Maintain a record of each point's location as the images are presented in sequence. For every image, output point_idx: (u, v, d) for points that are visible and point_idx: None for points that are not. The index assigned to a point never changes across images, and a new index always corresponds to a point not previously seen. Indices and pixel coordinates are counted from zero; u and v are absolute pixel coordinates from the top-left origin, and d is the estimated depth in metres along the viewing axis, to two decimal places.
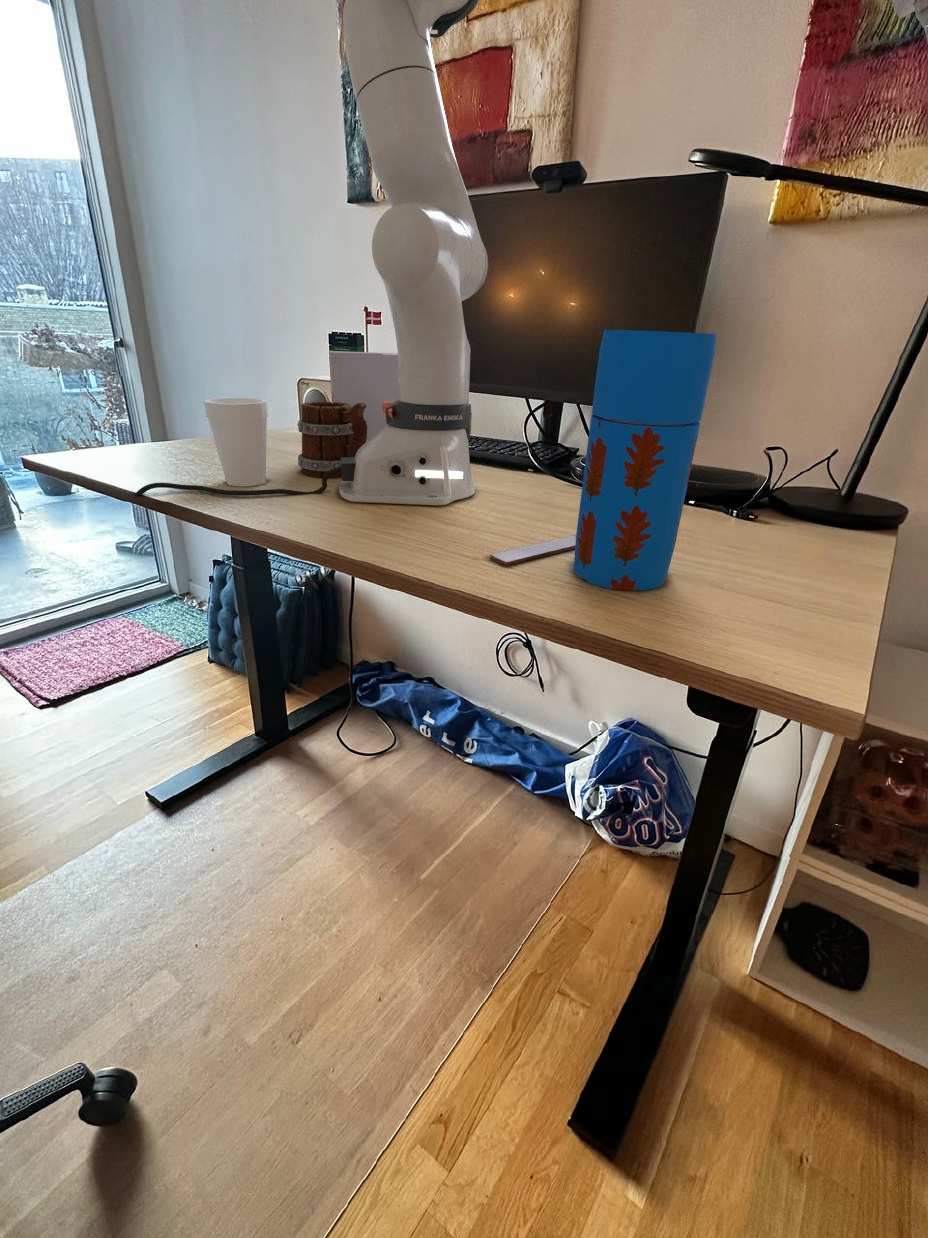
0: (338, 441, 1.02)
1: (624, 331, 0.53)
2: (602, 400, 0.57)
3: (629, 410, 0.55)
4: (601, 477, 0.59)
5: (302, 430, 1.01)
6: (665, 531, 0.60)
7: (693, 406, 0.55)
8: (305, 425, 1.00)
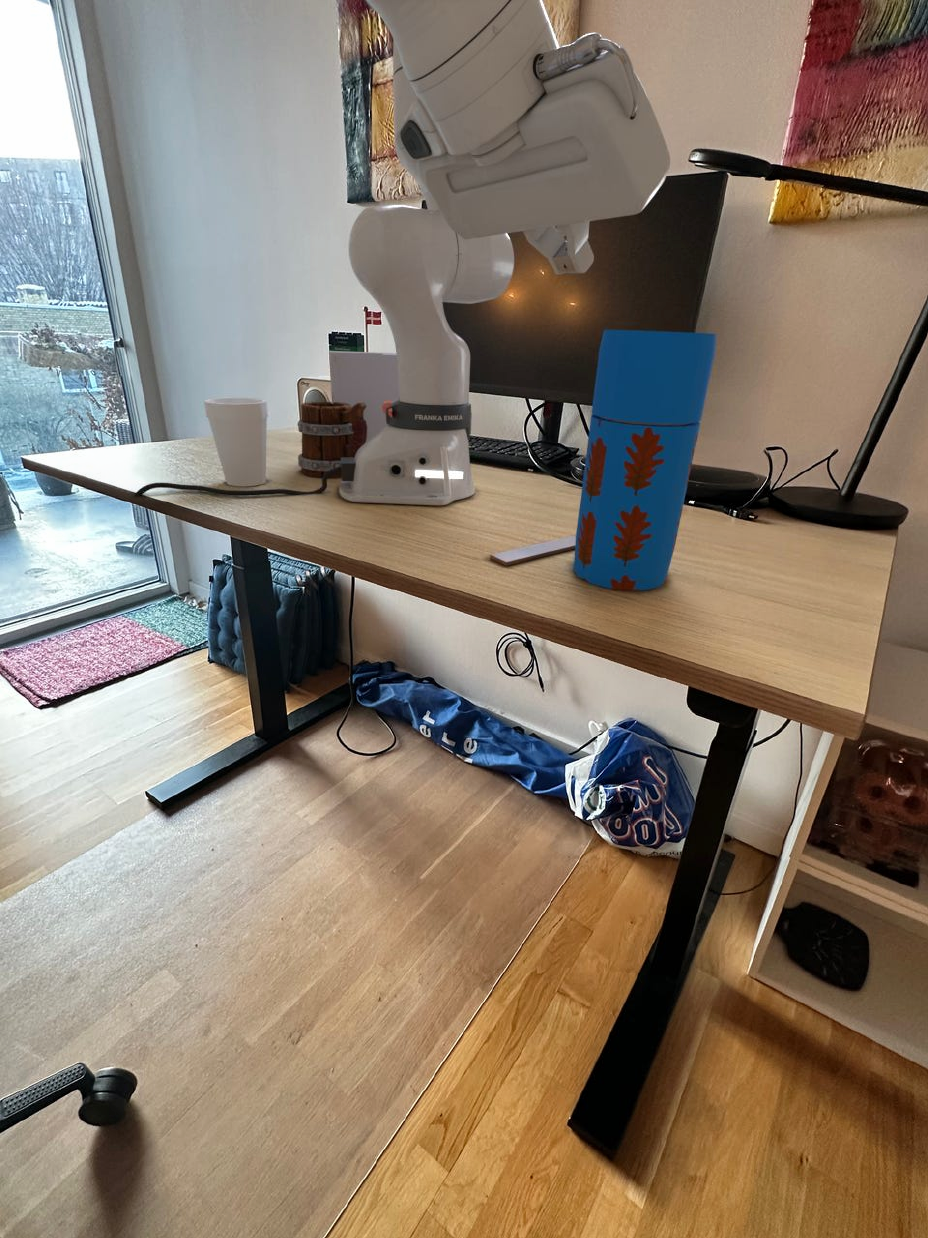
0: (338, 441, 1.02)
1: (624, 331, 0.53)
2: (602, 400, 0.57)
3: (629, 410, 0.55)
4: (601, 477, 0.59)
5: (302, 430, 1.01)
6: (665, 531, 0.60)
7: (693, 406, 0.55)
8: (305, 425, 1.00)
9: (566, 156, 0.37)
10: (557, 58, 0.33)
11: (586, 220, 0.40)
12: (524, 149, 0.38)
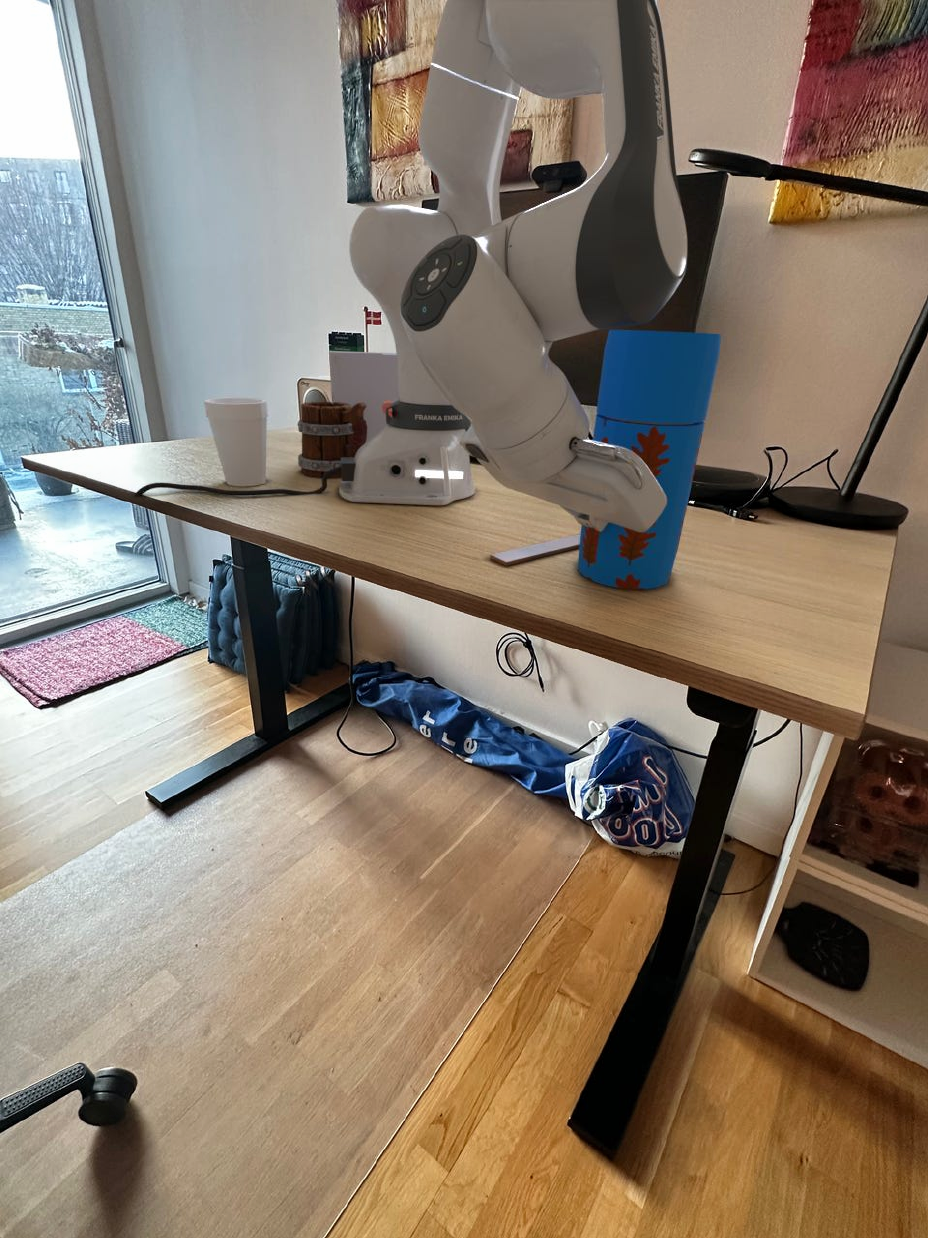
0: (338, 441, 1.02)
1: (630, 331, 0.53)
2: (608, 400, 0.57)
3: (635, 409, 0.55)
4: None
5: (302, 430, 1.01)
6: (670, 530, 0.60)
7: (698, 406, 0.55)
8: (305, 425, 1.00)
9: (592, 492, 0.51)
10: (587, 450, 0.47)
11: (605, 520, 0.54)
12: (560, 478, 0.52)
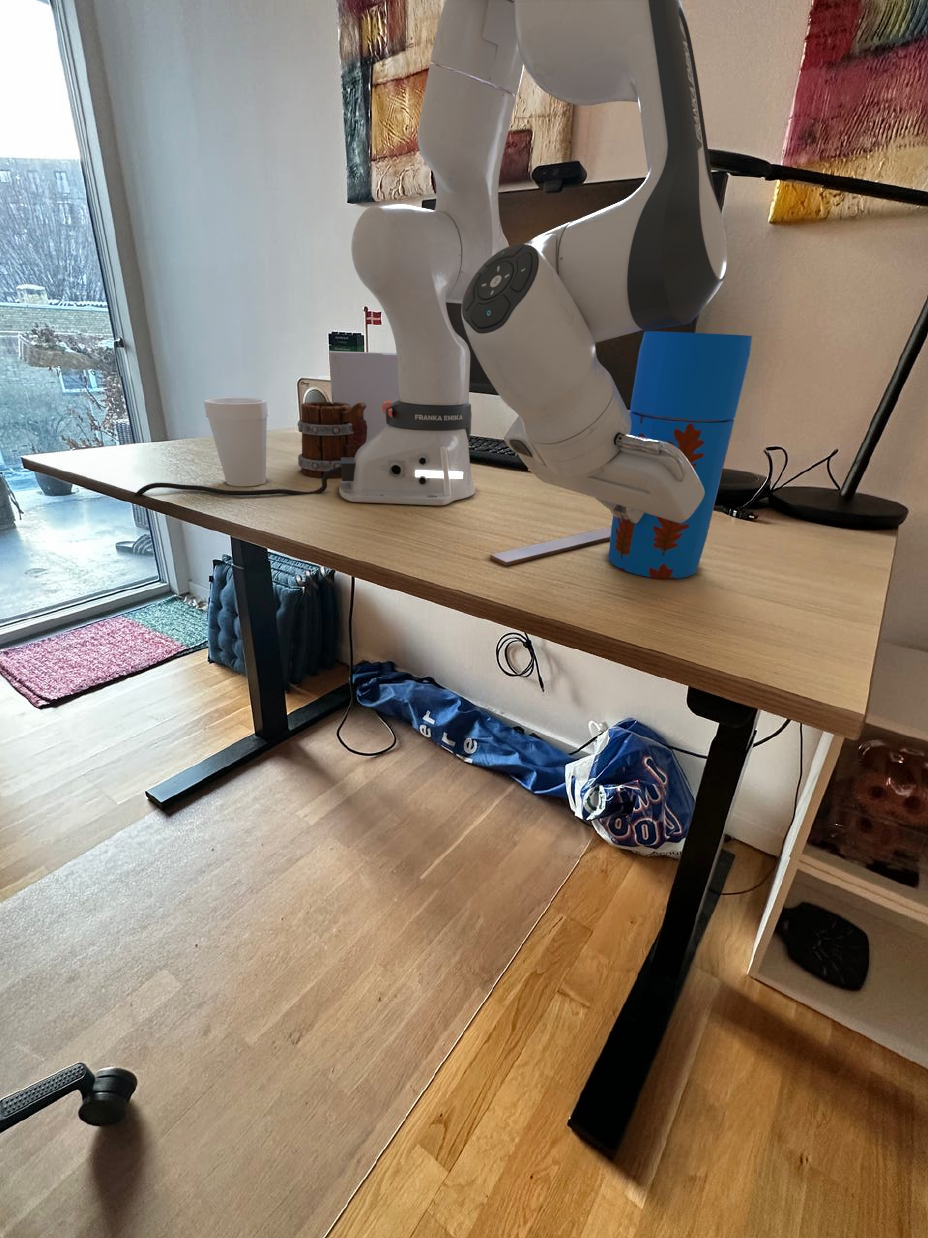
0: (338, 441, 1.02)
1: (669, 333, 0.56)
2: (644, 398, 0.60)
3: (672, 407, 0.58)
4: None
5: (302, 430, 1.01)
6: (701, 521, 0.64)
7: (731, 403, 0.59)
8: (305, 425, 1.00)
9: (633, 485, 0.54)
10: (632, 445, 0.50)
11: (643, 512, 0.57)
12: (602, 472, 0.55)
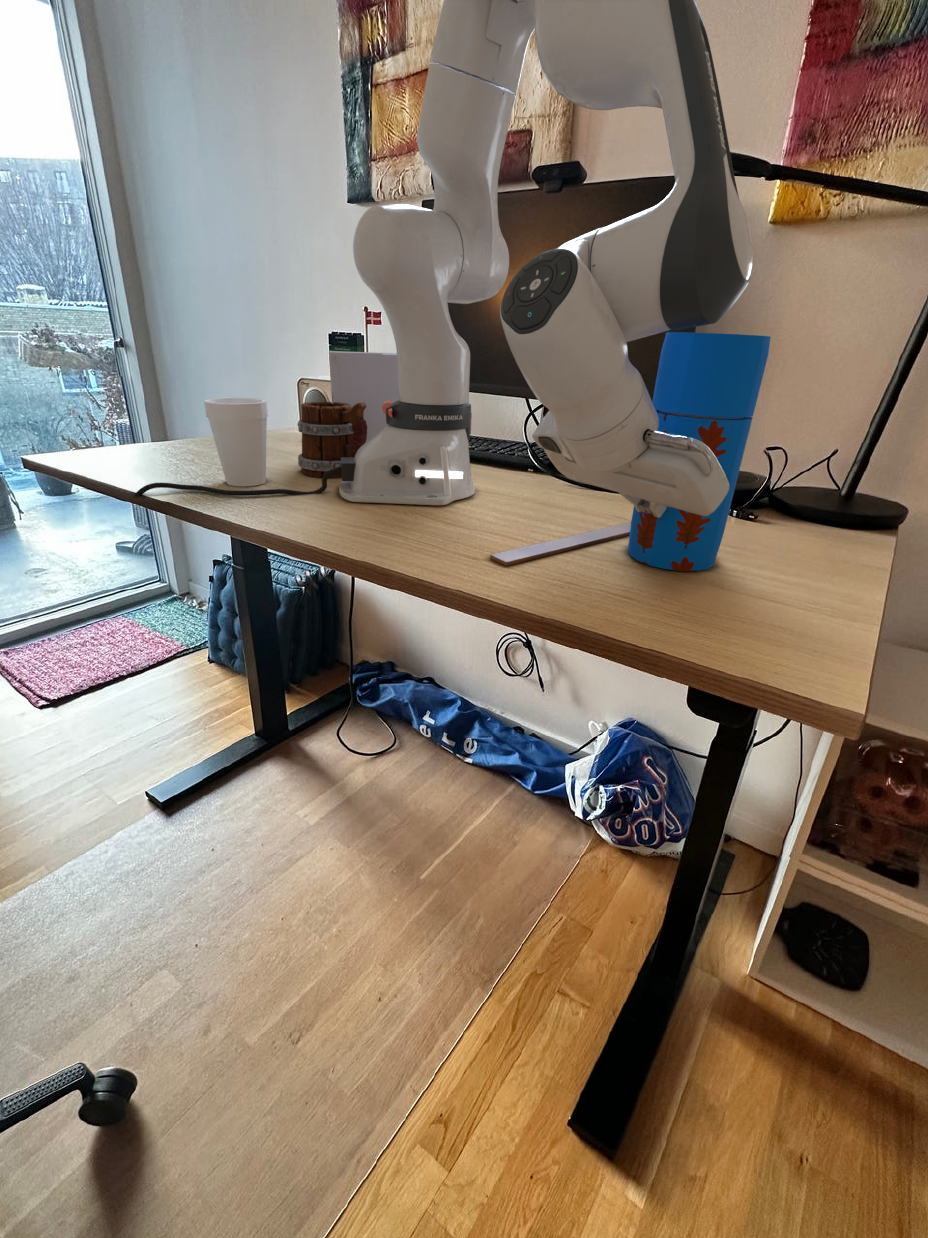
0: (338, 441, 1.02)
1: (694, 333, 0.59)
2: (668, 396, 0.62)
3: (697, 405, 0.60)
4: None
5: (302, 430, 1.01)
6: (721, 515, 0.66)
7: (752, 401, 0.61)
8: (305, 425, 1.00)
9: (660, 480, 0.56)
10: (661, 441, 0.52)
11: (669, 506, 0.59)
12: (629, 467, 0.57)
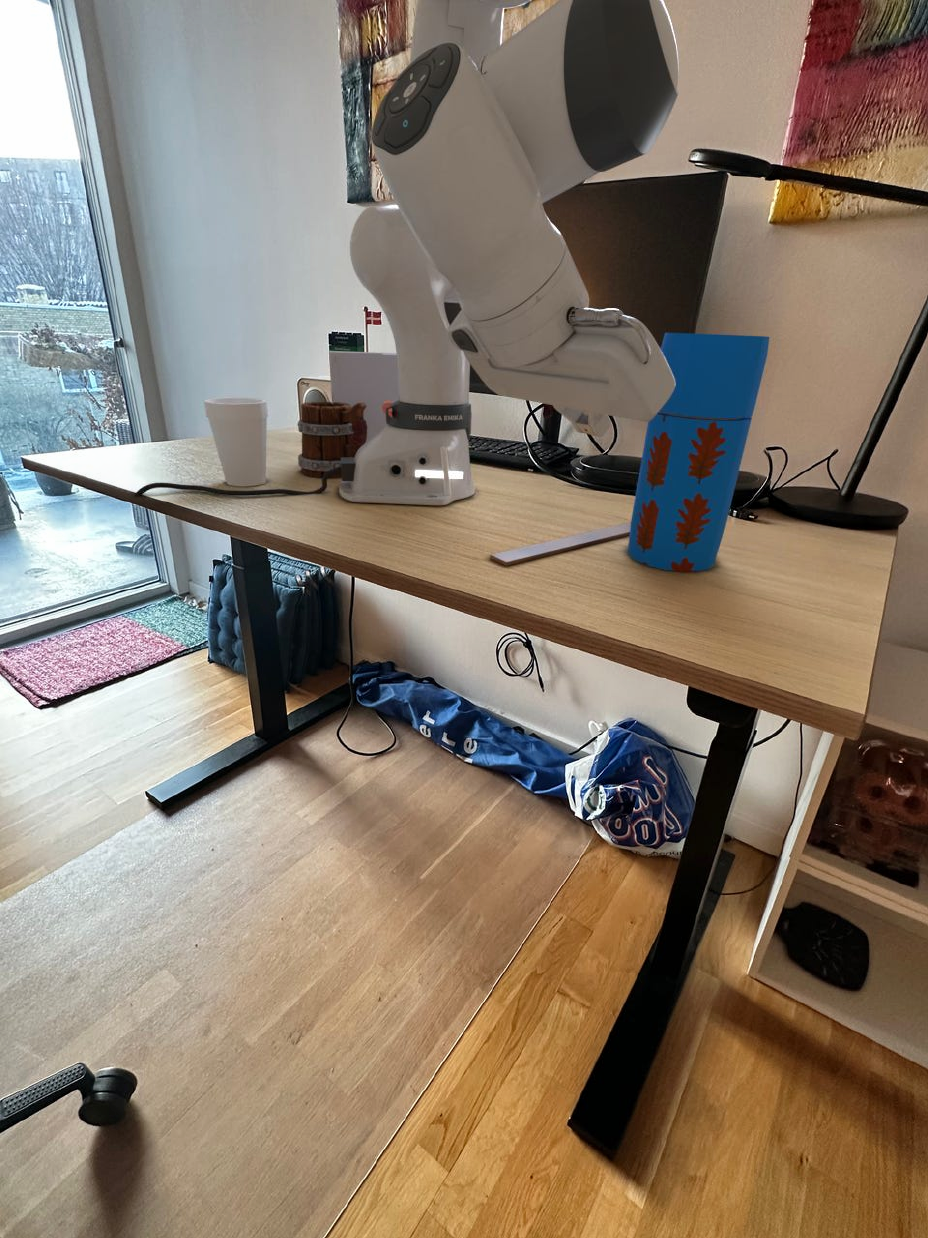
0: (338, 441, 1.02)
1: (692, 334, 0.58)
2: None
3: (696, 406, 0.60)
4: (664, 468, 0.64)
5: (302, 430, 1.01)
6: (721, 516, 0.66)
7: (751, 402, 0.61)
8: (305, 425, 1.00)
9: (591, 376, 0.46)
10: (586, 318, 0.42)
11: (606, 414, 0.49)
12: (556, 363, 0.47)
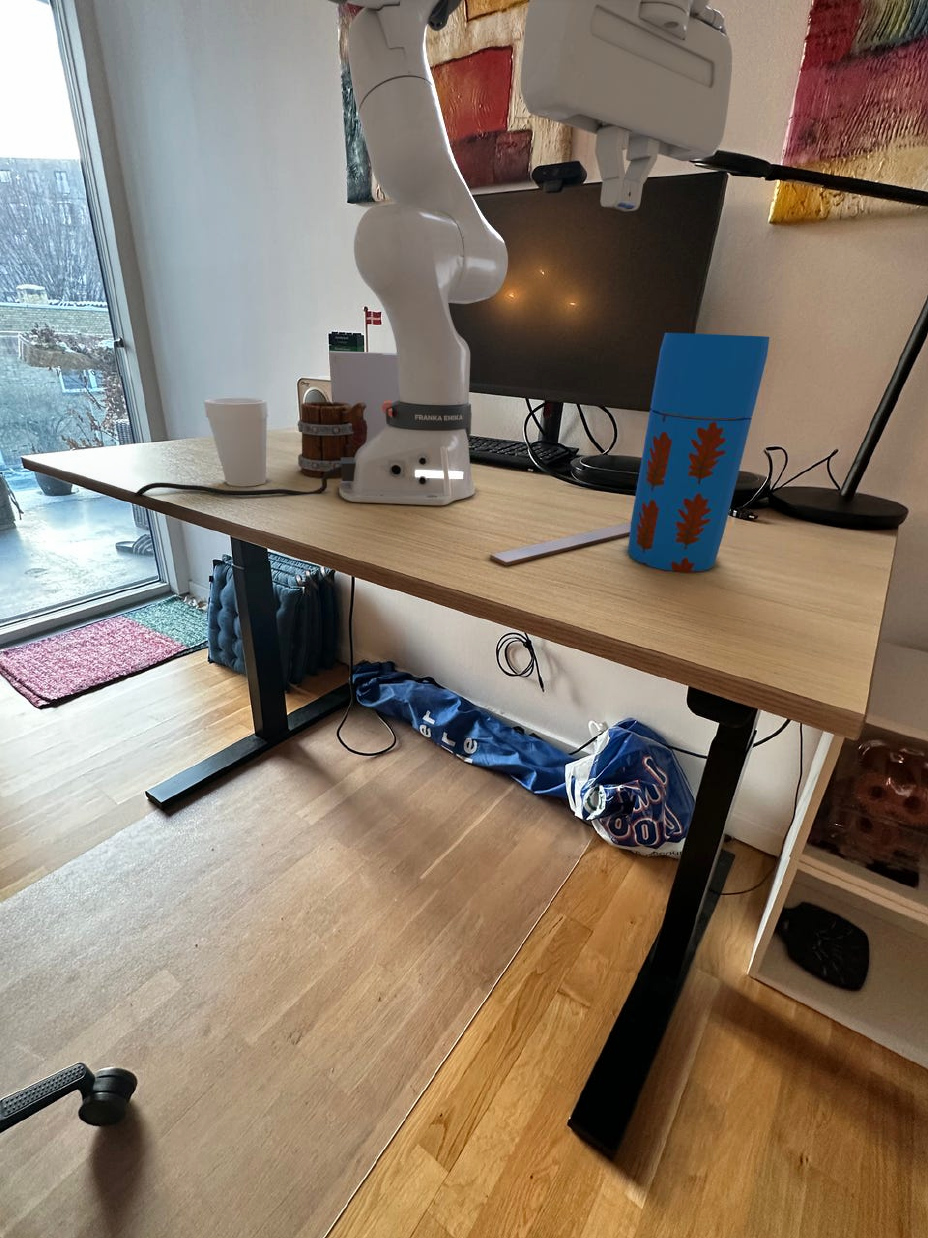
0: (338, 441, 1.02)
1: (692, 334, 0.58)
2: (667, 397, 0.62)
3: (696, 406, 0.60)
4: (664, 468, 0.64)
5: (302, 430, 1.01)
6: (721, 516, 0.66)
7: (751, 402, 0.61)
8: (305, 425, 1.00)
9: (698, 76, 0.45)
10: (706, 6, 0.45)
11: (686, 141, 0.47)
12: (679, 43, 0.43)
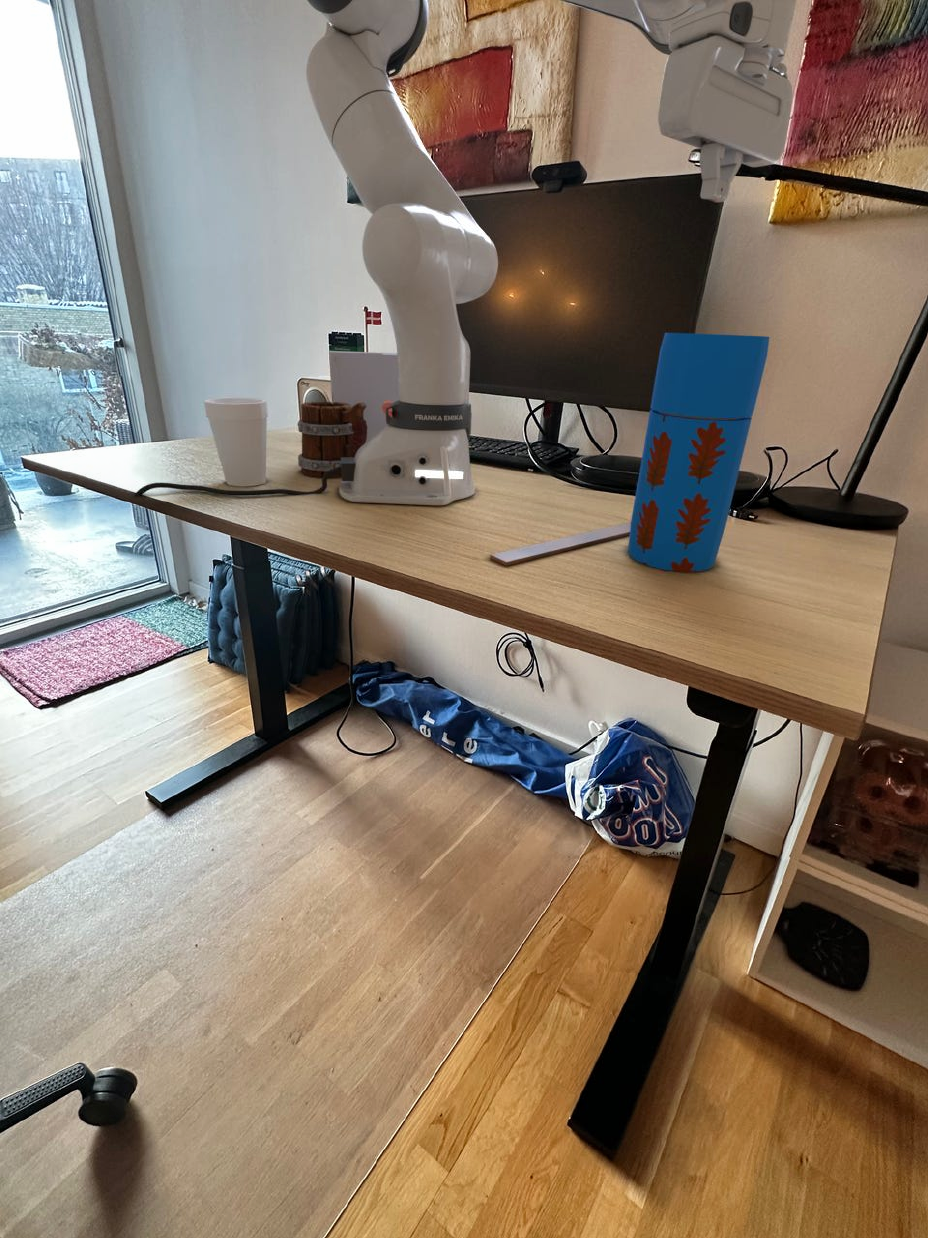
0: (338, 441, 1.02)
1: (692, 334, 0.58)
2: (667, 397, 0.62)
3: (696, 406, 0.60)
4: (664, 468, 0.64)
5: (302, 430, 1.01)
6: (721, 516, 0.66)
7: (751, 402, 0.61)
8: (305, 425, 1.00)
9: (770, 108, 0.65)
10: None
11: (760, 153, 0.67)
12: (760, 87, 0.63)
